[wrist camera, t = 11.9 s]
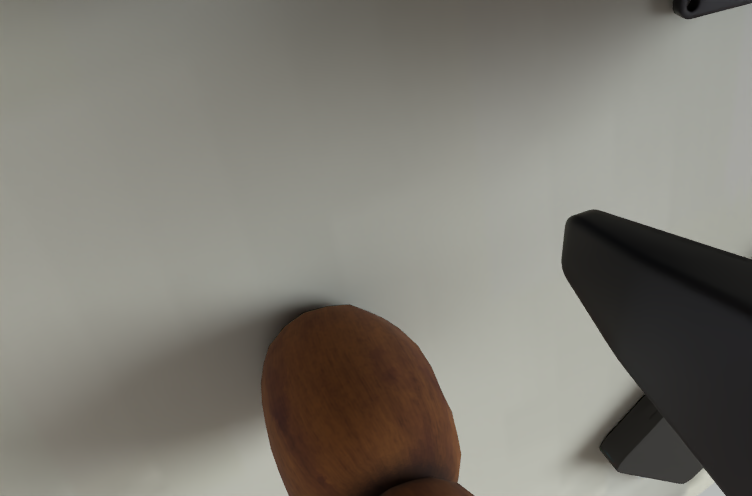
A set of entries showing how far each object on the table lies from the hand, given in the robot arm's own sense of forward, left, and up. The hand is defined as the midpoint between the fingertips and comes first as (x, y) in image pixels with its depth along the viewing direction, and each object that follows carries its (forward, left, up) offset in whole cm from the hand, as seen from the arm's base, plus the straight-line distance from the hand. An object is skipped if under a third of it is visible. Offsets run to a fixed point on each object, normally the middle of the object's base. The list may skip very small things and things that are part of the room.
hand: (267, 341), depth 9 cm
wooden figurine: (-3, +13, -12) cm, 18 cm away
